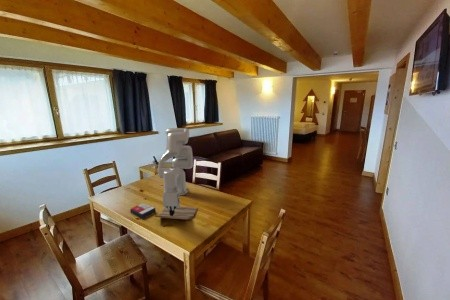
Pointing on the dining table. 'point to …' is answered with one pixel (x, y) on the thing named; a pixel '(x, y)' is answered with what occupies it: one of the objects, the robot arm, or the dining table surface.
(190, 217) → the plank
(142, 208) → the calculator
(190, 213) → the laid row
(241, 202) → the dining table surface
